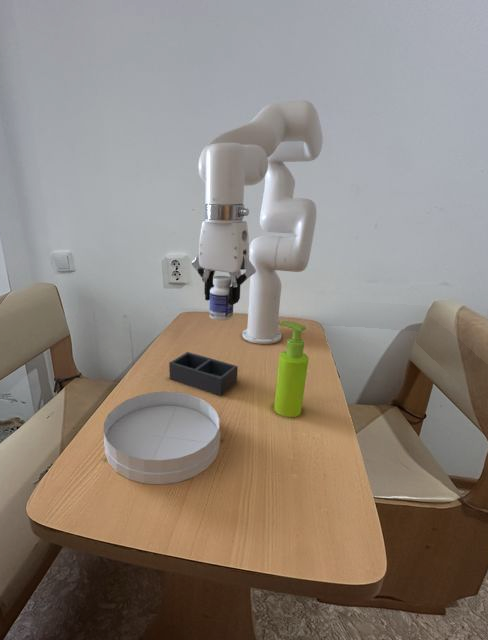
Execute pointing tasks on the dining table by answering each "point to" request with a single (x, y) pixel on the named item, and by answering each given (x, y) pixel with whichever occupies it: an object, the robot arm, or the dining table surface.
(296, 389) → the soap dispenser
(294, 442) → the dining table surface
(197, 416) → the dish
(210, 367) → the holder
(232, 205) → the robot arm
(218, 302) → the pill bottle
